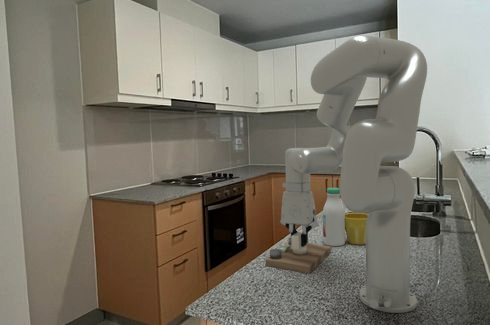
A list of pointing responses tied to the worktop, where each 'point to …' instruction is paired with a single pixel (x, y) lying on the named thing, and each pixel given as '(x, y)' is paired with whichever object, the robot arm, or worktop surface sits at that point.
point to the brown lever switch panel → (298, 258)
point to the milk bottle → (333, 219)
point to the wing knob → (298, 244)
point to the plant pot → (356, 227)
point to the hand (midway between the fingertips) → (299, 244)
